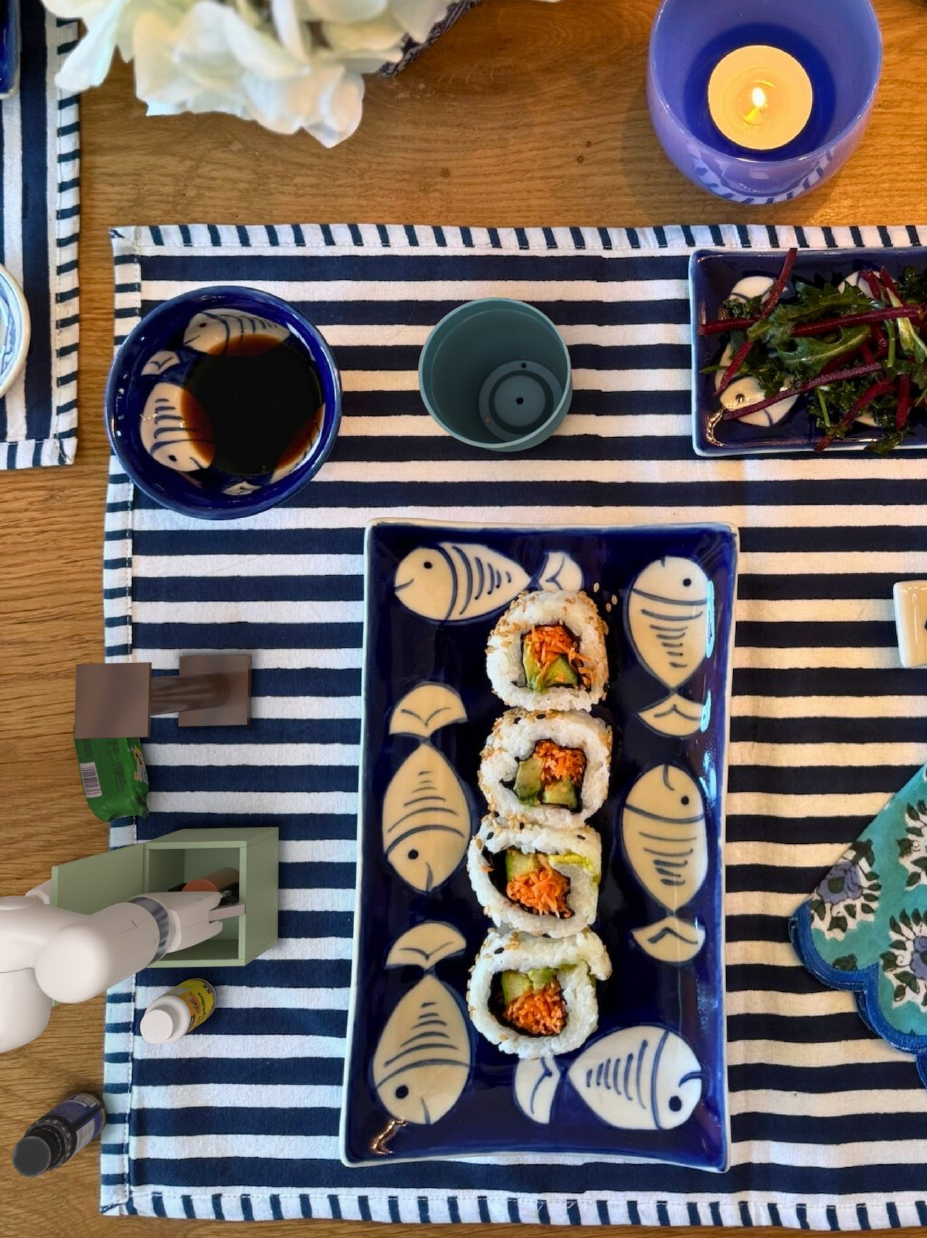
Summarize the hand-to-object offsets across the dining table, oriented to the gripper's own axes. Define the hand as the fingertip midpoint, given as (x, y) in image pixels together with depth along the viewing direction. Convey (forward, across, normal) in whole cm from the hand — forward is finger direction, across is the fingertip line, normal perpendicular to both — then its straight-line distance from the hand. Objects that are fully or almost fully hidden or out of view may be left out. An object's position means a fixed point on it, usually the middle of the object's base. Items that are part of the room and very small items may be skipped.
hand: (210, 895), depth 134 cm
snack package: (+6, -14, +16) cm, 22 cm away
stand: (+5, -2, +25) cm, 26 cm away
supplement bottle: (+6, -4, -14) cm, 16 cm away
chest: (+5, 0, 0) cm, 5 cm away
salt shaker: (+6, -20, 0) cm, 21 cm away
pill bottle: (+6, -18, -28) cm, 34 cm away
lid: (-12, -7, 0) cm, 14 cm away
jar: (+4, 0, 0) cm, 4 cm away
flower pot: (+6, +38, +62) cm, 73 cm away
